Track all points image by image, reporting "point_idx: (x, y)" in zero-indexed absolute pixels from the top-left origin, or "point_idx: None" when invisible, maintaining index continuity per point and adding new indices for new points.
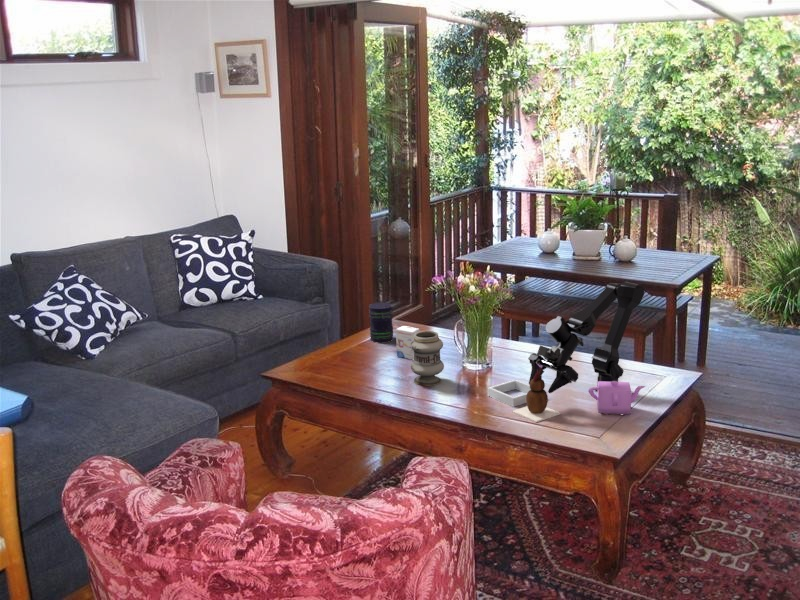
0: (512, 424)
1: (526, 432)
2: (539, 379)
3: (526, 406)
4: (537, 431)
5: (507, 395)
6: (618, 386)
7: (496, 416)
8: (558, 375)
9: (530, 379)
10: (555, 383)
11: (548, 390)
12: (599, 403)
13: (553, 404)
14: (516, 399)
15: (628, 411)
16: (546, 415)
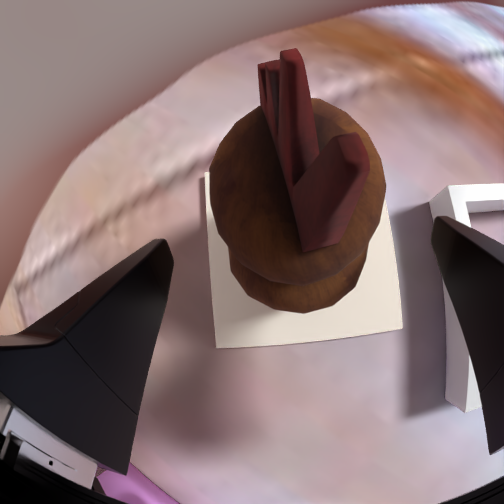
0: (251, 89)
1: (161, 102)
2: (273, 184)
3: (391, 247)
4: (141, 137)
5: (488, 188)
6: None
7: (358, 84)
8: (1, 340)
9: (467, 231)
10: (79, 296)
11: (159, 241)
12: (99, 475)
13: (346, 404)
14: (447, 212)
15: None
16: (228, 259)
